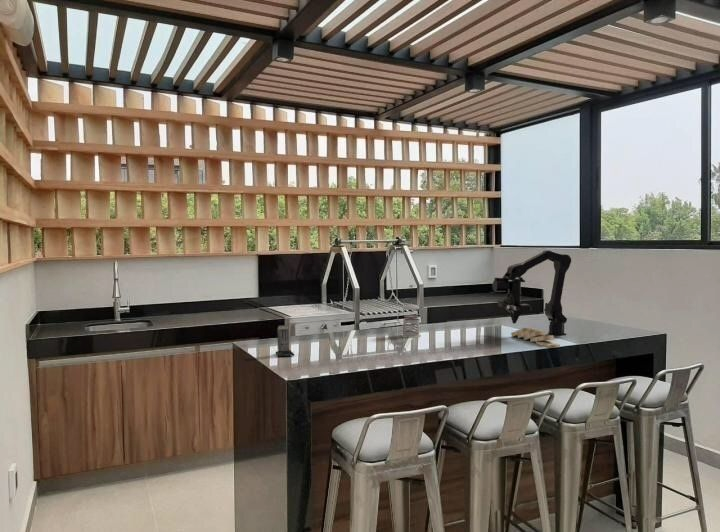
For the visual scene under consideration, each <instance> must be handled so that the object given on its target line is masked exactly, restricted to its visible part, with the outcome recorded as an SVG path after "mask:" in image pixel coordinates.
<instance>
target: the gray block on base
mask: <svg viewBox="0 0 720 532" xmlns="http://www.w3.org/2000/svg"><path fill="white" fill-rule="evenodd" d="M289 335H290V334H289V327H288V325H284V324H283V325H278V327H277V349H278V350H277V351H275V353H274V354H275V355H276V356H278V357H282V356H292V357H293V356H295V354H294V352H293V351H292V350H290V336H289Z"/></svg>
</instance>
